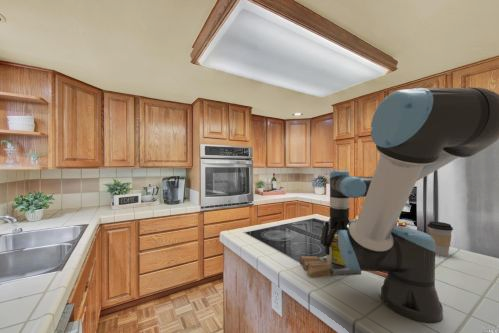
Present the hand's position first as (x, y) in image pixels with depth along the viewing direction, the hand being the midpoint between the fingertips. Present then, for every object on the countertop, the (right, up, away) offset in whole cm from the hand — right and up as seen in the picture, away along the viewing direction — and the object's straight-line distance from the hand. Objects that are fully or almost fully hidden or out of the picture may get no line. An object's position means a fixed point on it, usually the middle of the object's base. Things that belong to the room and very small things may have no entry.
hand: (338, 261), depth 88 cm
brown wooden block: (-11, -3, +1) cm, 12 cm away
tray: (0, -3, 0) cm, 3 cm away
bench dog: (-10, -3, -6) cm, 12 cm away
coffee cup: (+56, -3, +15) cm, 58 cm away
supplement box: (0, -1, 0) cm, 1 cm away
